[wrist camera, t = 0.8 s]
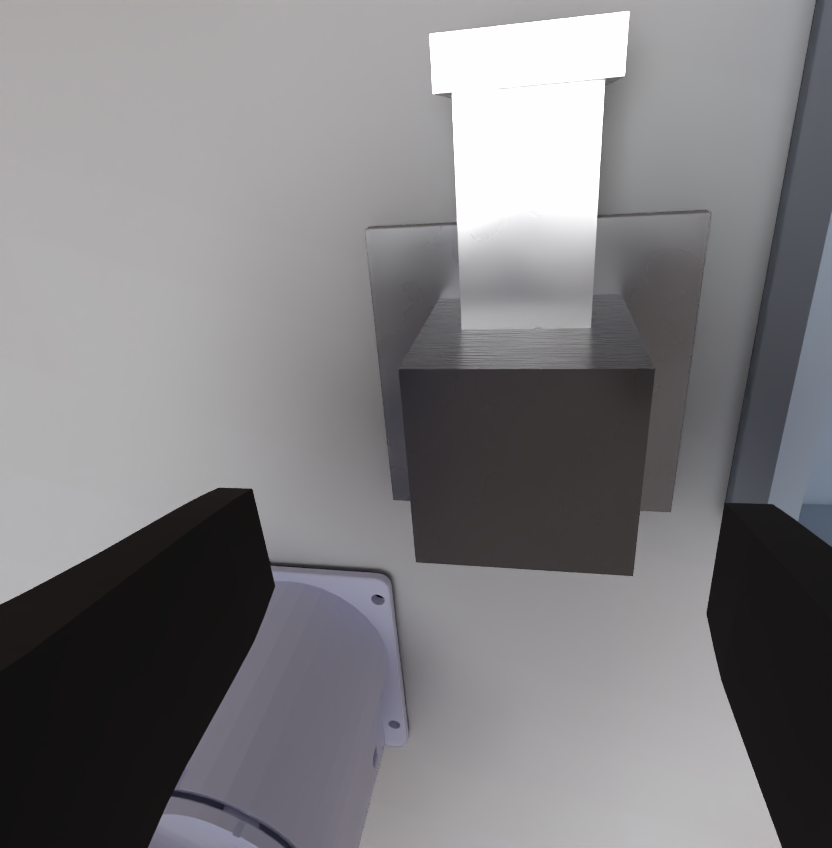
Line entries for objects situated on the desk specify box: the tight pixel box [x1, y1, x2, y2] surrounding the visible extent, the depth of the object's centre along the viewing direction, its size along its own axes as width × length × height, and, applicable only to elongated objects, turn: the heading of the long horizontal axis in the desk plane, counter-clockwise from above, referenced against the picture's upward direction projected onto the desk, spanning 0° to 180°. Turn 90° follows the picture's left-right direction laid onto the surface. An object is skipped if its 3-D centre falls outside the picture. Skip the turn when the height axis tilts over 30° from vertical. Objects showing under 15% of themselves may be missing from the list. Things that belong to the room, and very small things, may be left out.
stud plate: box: [365, 210, 711, 512], centre depth 16 cm, size 9×9×5 cm
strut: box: [398, 11, 655, 576], centre depth 14 cm, size 11×5×6 cm, turn 4°
